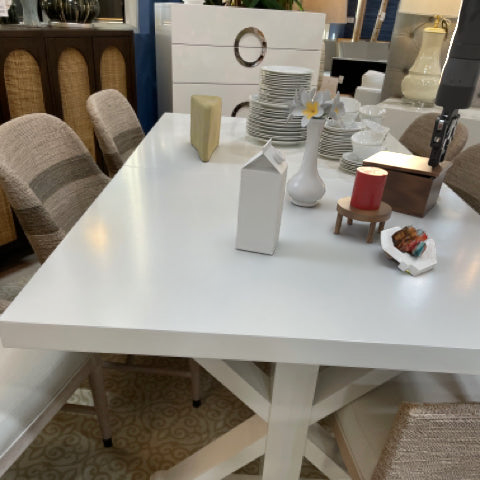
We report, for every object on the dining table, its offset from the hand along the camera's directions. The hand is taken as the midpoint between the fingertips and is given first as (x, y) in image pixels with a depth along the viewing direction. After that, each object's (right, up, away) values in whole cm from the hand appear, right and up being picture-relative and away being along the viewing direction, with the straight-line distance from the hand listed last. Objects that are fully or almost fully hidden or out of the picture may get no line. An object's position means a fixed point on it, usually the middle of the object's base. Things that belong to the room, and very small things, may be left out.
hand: (435, 163), depth 110 cm
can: (-20, -13, -13) cm, 27 cm away
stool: (-20, -18, -10) cm, 29 cm away
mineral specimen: (-14, -25, -20) cm, 35 cm away
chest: (-6, -7, +9) cm, 13 cm away
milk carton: (-42, -22, -19) cm, 51 cm away
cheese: (-56, +15, +36) cm, 69 cm away
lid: (-5, +1, +3) cm, 6 cm away
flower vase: (-31, -8, +4) cm, 32 cm away
